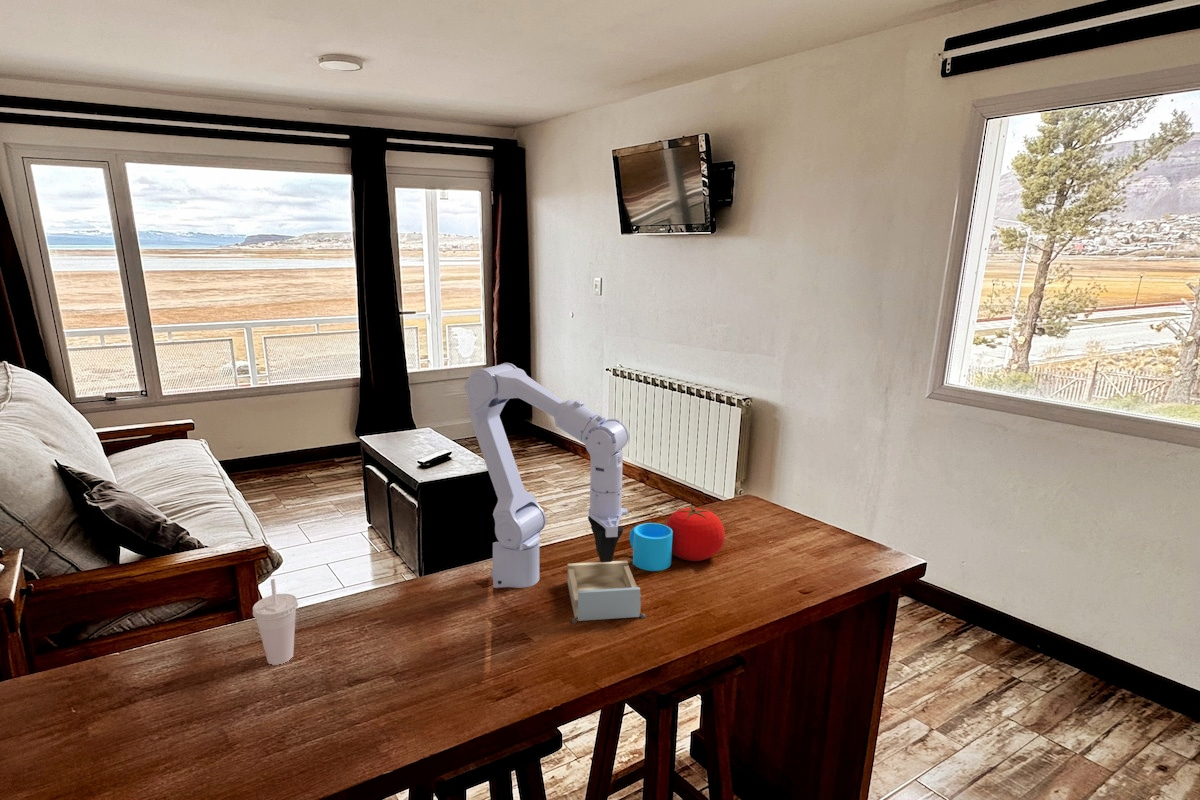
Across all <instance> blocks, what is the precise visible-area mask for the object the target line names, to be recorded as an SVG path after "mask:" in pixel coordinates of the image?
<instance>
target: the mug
mask: <svg viewBox="0 0 1200 800" xmlns="http://www.w3.org/2000/svg"><path fill="white" fill-rule="evenodd" d="M672 536H673V531H672V529H671V528H669V527H668V526H666V524H661V523H655V522H646V523H641V524H638V525H636V526H634V527H632V529H631V530H630V532H629V542H630V543H629V544H630V546H631V548H632V550H633V551H632V565H634V566H635V567H637V568H639V569H641V570H645V571H648V572H649V571H650V572H659V571H664V570H666V569H668V568H670V567H671V565H672V556H673V553H672Z"/></svg>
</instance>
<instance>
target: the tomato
mask: <svg viewBox="0 0 1200 800" xmlns="http://www.w3.org/2000/svg"><path fill="white" fill-rule="evenodd" d="M665 526H668V527H669V528H671V529H672V531H673V536H672V555H674V556H676V557H678V558H679V559H682V560H684V561H690V562H699V561H705V560H706V559H710V558H711V557H713V556H714V555H716V554H717V553H718V552H719V551H720V550H721V549H722V548H723V545H724V544H725V539H726V538H725V536H726V531H725V528H724V525H723V523H722V520H721V519H720V518H719V517H718V515H716V514H715V513H714V512H712V511H711V510H709V509H704V508H697V507H693V506H692V505H690V507H684V508H680V509H677V510H675V511H674V512H673V513H671V515H670V516H669V518H668V520H667V521H666V523H665Z"/></svg>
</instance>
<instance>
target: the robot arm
mask: <svg viewBox="0 0 1200 800" xmlns="http://www.w3.org/2000/svg"><path fill="white" fill-rule="evenodd" d="M463 387H464V389H465V392H466V396H467V399H468V415H469V419H470V422H471V425H472V428H473V432H474V434H475V437H476V439H477V442H478V445H479V448H480V451H481V454H482V456H483V460H484V463H485V466H486V469H487V472H488V474H489V477H490V480H491V483H492V486H493V489H494V491H495V495H496V497H497V503H496V505H495V507H494V509H493V513H492V516H493V519H494V534H495V538H496V539H497V541H495V542H492V569H491V579H492V587H493V588H495V589H498V588H518V589H523V588H528V587H529V588H530V587H533V586H535V585H536V584H538V582H539V581H540V537H541V531H543V529H545V526H546V524H547V516H546V513H545V511H544V509H543V508H542V507H541V506H540V504H539V503H538V501H537V499H536V496H535V495H534V494H532V493H531V492H529V491H527V490H526V489H525V486H524V484H523V481H522V478H521V474H520V471H519V469H518V466H517V462H516V461H515V457H514V454H513V452H512V448H511V446H510V443H509V440H508V437H507V433H506V431H505V428H504V425H503V422H502V419H501V416H500V415H501V413H502V411H503V409H504V407H505V406H506V403H507V402H508V401H510V399H511V400H512V399H520V400H522V401H524V402H526V403H527V404H529V405H531V406H533V407H535V408H537V409H538V410H540V411H541V412H543V413H546V414H547V415H550V416H551V417H553V419H554V423H555V426H556V427H557V428H559V429H560V430H562V431H564V433H566V434H568V435H570V436H571V437H573V438H575V439H576V440H577V441H579V442H581V443H582V444H583V445H584V447H585V449H586V451H587V453H588V454H589V456H590V477H589V479H590V481H589V482H590V483H589V486H590V487H589V509H588V516H587V519H588V521H589V524H590V528H591V531H592V534H593V536H594V542H595V550H596V553H597V555H598V559H599V562H611V561H613V558H614V555H615V554H614V553H615V550H616V546H617V543H618V541H619V539H620V538H621V536H622V535H623V533H624V527H623V526H622V525H619V524H620V522H621V518H622V517H623V516H628V514H629V513H628V509H627V508H626V507H622V497H623V496H622V494H623V493H622V491H623V457H624V452H623V449H624V448H625V446H626V445H627V443H629V442H628V441H629V432H628V429H627V427H626V426H625V425H624V424H623V423H622V422H620V420H619V419H617V418H610V419H606V416H605V415H603V414H597V413H596V412H594V411H593V410H592V409H589V408H588V407H586V406H585V402H584V401H582V400H580V399H576V400H575V399H569V400H568V399H567V400H565V401H564V400H563V399H561V398H560V397H559V396H557V395H555V394H554V393H553V392H551V391H550V390H548V389H547V388H546V387H544V386H543V385H541V384H540V383H538V382H537V381H535V380H534V379H533V378H531V377H530V376H529V375H527V372H526V371H525V370H524V369H522V368H519V367H517V366H516V365H514V364H513V363H510V362H503V363H500V364H497V365H494V366H489V367H484V368H476V369H474V370H473V371H472V372H471V373H470V374H469V376H468V377H467V380H466V382H465V383H464V386H463Z"/></svg>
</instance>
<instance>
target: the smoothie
mask: <svg viewBox="0 0 1200 800" xmlns="http://www.w3.org/2000/svg"><path fill="white" fill-rule="evenodd" d="M270 585H271V587H270V588H271V595H269V596H266V597H264V598H261V599H260V600H258V601H257V602H255V603H254V605H253V606H252V616H253V617H254V618H255V619H256V623H257V626H258V630H259V634H260V637H261V641H262V645H263V649H264V654H265V658H266V661H267V663H268V664H269V665H270V664H272V665H271V666H280V665H279V664H281V665H284V664H286V663H285V662H287V661H288V662H290V661H291V660H292V659H293V658H294V651H295V649H294V648H295V647H294V646H295V632H296V631H295V630H296V611H297V608H298V605H299V603H298V597H296V596H295V595H294V594H291V593H277V589H276V588H277V587H276V579H275V578H273V579H270ZM292 657H293V658H292ZM291 658H292V659H291ZM290 659H291V660H290ZM289 660H290V661H289ZM288 662H287V663H288ZM283 663H284V664H283Z"/></svg>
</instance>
